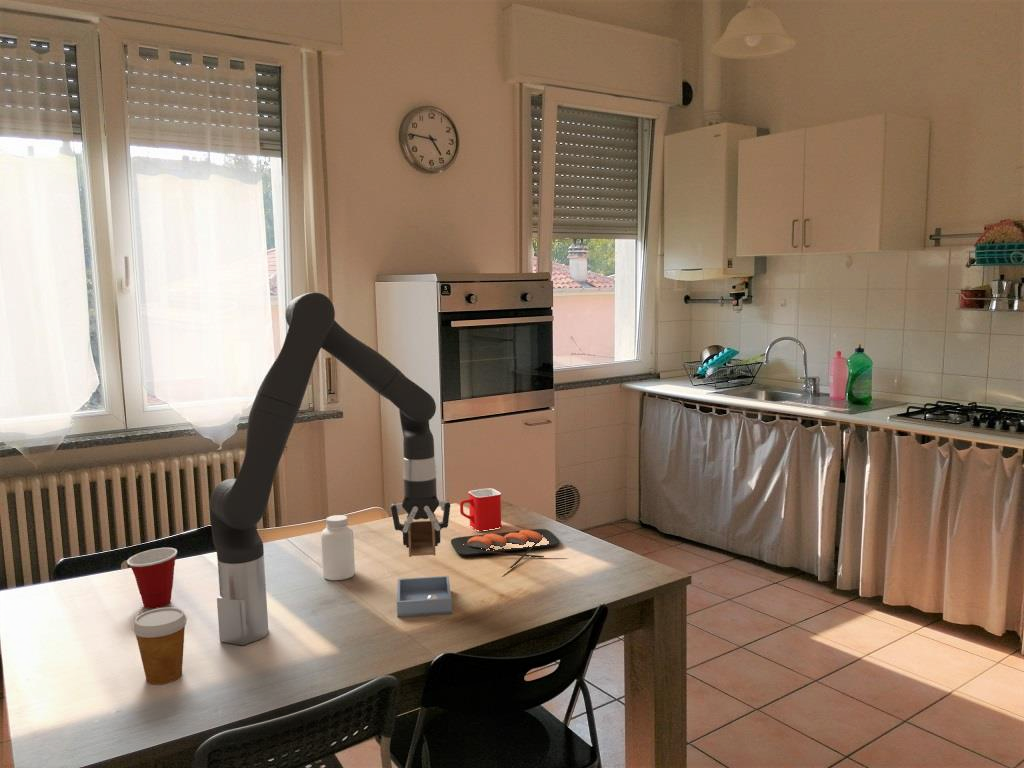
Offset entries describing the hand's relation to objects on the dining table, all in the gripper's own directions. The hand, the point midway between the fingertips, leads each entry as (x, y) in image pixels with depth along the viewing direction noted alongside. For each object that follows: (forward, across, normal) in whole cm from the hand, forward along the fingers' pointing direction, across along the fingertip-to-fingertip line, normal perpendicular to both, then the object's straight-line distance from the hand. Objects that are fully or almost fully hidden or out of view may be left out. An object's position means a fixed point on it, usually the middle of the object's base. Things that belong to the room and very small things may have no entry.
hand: (422, 545), depth 192 cm
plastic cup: (+12, -62, +5) cm, 63 cm away
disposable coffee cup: (+12, -50, -32) cm, 60 cm away
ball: (+10, +2, -9) cm, 14 cm away
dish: (+12, 0, -5) cm, 13 cm away
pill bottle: (+12, -21, +16) cm, 29 cm away
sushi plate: (+13, +24, +24) cm, 36 cm away
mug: (+12, +18, +48) cm, 53 cm away
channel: (+1, 0, 0) cm, 1 cm away
